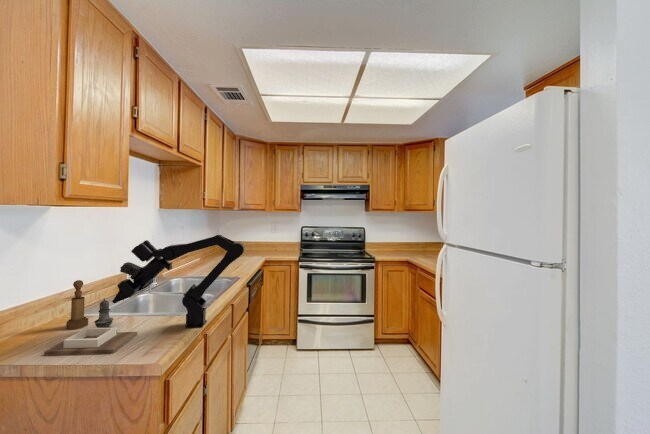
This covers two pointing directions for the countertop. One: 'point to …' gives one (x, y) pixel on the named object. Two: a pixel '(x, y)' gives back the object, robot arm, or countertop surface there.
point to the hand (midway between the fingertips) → (119, 298)
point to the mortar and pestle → (77, 309)
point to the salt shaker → (104, 316)
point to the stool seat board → (92, 342)
